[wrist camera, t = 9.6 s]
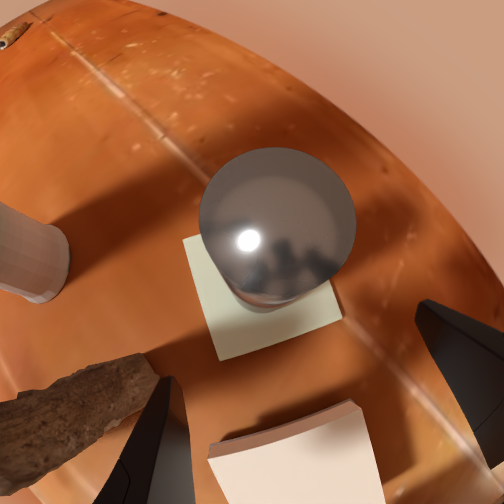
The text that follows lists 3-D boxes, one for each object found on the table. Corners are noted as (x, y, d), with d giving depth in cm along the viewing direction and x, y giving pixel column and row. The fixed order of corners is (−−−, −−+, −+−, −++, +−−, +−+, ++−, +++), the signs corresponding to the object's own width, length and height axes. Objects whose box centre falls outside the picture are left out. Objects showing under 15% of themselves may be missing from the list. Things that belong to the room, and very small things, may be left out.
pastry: (21, 29, 36) (15, 20, 32) (34, 23, 35) (29, 13, 32) (-2, 52, 33) (-8, 43, 30) (10, 47, 33) (4, 37, 29)
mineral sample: (149, 348, 19) (-20, 371, 4) (177, 397, 18) (52, 506, 4) (20, 413, 17) (-98, 436, 2) (40, 450, 16) (-70, 494, 1)
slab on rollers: (372, 491, 16) (395, 519, 11) (257, 530, 15) (259, 566, 10) (342, 388, 18) (369, 404, 14) (210, 432, 18) (198, 460, 13)
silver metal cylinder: (306, 289, 20) (384, 234, 8) (254, 326, 19) (259, 329, 7) (270, 238, 21) (293, 126, 9) (218, 273, 20) (170, 196, 8)
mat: (340, 318, 20) (342, 318, 19) (220, 360, 19) (219, 361, 19) (298, 205, 22) (298, 203, 21) (183, 241, 21) (182, 239, 21)
